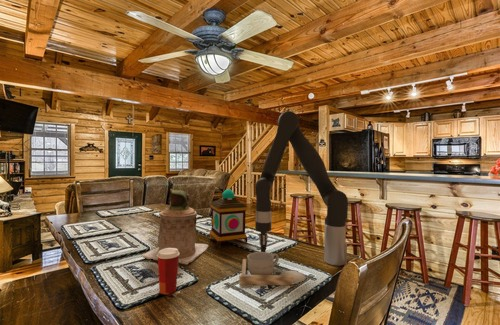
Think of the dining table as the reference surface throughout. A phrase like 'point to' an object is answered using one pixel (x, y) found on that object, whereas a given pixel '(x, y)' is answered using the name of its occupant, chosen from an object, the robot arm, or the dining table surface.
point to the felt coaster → (295, 276)
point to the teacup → (261, 263)
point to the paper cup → (168, 270)
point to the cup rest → (264, 278)
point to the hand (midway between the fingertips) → (263, 257)
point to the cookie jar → (178, 229)
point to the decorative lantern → (228, 219)
